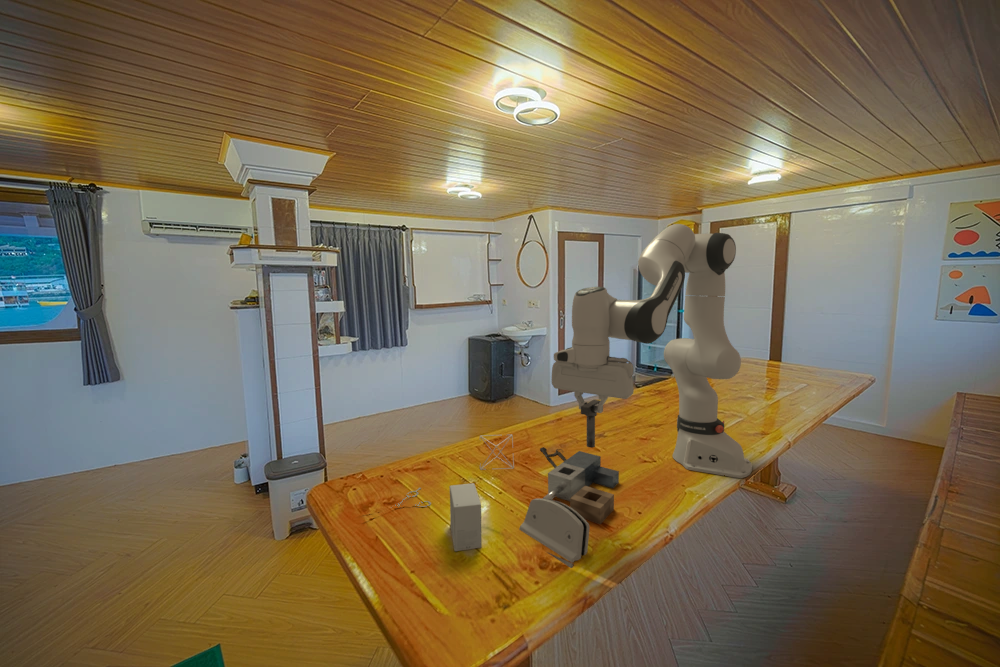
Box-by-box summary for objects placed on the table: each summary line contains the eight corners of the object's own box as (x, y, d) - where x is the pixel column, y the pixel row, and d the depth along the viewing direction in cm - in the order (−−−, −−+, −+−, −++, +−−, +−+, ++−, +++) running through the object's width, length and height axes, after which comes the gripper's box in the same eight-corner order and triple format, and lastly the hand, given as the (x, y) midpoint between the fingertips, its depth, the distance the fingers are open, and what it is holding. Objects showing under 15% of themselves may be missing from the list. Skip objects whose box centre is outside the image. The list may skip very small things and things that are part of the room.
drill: (579, 472, 127) (579, 451, 126) (620, 484, 119) (620, 461, 118) (534, 508, 107) (533, 483, 106) (579, 525, 99) (579, 498, 98)
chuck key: (602, 442, 104) (602, 401, 102) (589, 452, 98) (589, 408, 97) (591, 440, 105) (591, 399, 104) (579, 449, 100) (578, 406, 99)
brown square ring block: (613, 513, 104) (613, 494, 104) (600, 528, 98) (600, 508, 97) (585, 503, 109) (585, 485, 109) (570, 517, 103) (570, 498, 102)
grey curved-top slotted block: (517, 533, 97) (526, 490, 98) (530, 531, 100) (539, 490, 101) (572, 569, 84) (582, 519, 85) (586, 566, 87) (595, 518, 88)
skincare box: (483, 547, 92) (481, 503, 91) (454, 552, 91) (452, 507, 90) (476, 521, 102) (474, 481, 101) (450, 525, 101) (448, 485, 100)
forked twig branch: (538, 450, 145) (538, 446, 145) (566, 447, 148) (566, 443, 147) (564, 482, 122) (564, 477, 122) (596, 477, 124) (596, 472, 124)
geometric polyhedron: (521, 462, 136) (520, 435, 135) (505, 475, 126) (504, 447, 125) (489, 455, 142) (488, 430, 141) (471, 468, 132) (470, 440, 131)
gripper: (638, 356, 95) (637, 414, 97) (560, 349, 108) (561, 401, 109) (627, 361, 90) (627, 422, 92) (547, 353, 103) (548, 407, 105)
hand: (590, 410), depth 101 cm, fingers closed on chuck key, 3 cm apart
